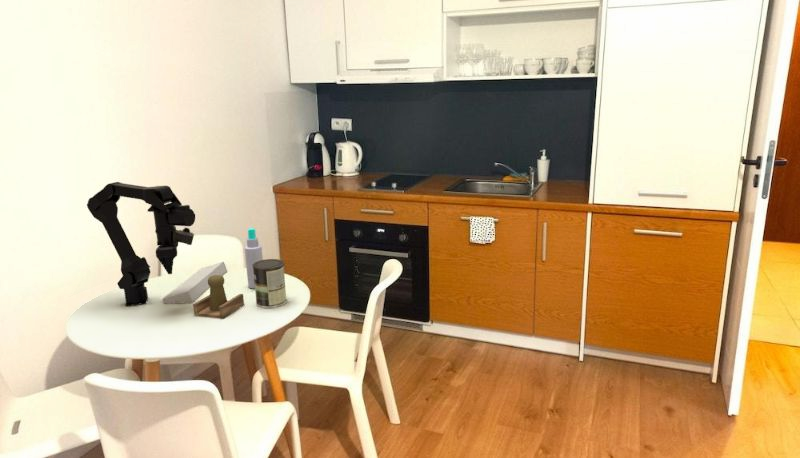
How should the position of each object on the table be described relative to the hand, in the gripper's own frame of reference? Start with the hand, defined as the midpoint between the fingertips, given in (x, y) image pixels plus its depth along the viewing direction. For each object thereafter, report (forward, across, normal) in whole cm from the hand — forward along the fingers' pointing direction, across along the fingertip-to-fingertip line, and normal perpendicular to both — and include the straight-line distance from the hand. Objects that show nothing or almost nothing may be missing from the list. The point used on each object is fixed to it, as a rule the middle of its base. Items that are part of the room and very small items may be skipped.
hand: (170, 270), depth 189 cm
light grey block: (+14, +19, -7) cm, 24 cm away
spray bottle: (+13, +9, -28) cm, 32 cm away
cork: (+12, -10, -14) cm, 21 cm away
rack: (+13, -10, -14) cm, 22 cm away
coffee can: (+13, -10, -31) cm, 35 cm away
